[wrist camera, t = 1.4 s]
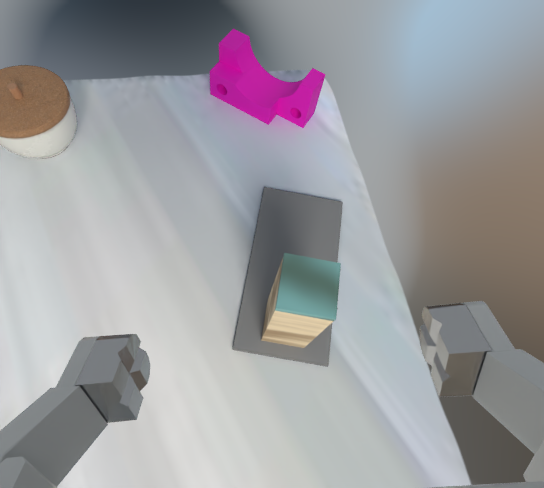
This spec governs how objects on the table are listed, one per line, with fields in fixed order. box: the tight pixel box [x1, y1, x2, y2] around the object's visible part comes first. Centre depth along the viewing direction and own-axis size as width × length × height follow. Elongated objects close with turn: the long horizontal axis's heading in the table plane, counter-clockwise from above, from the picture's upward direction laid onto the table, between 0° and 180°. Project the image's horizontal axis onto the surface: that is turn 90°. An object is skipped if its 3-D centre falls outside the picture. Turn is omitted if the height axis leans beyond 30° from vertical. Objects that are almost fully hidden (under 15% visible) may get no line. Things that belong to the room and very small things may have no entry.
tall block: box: [261, 253, 341, 348], centre depth 39 cm, size 5×5×14 cm
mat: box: [233, 187, 343, 366], centre depth 48 cm, size 22×11×1 cm, turn 171°
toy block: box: [210, 29, 325, 128], centre depth 56 cm, size 15×6×8 cm, turn 60°
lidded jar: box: [0, 65, 77, 158], centre depth 48 cm, size 11×11×9 cm
